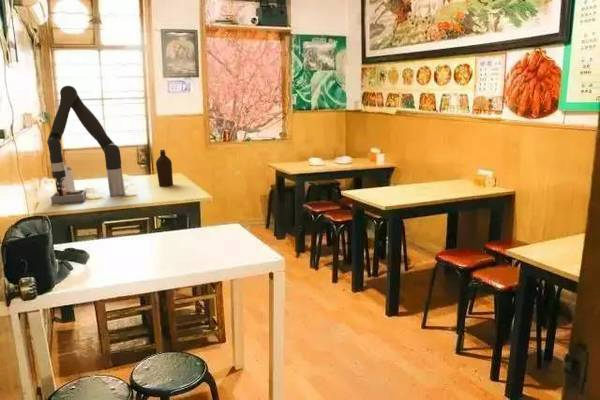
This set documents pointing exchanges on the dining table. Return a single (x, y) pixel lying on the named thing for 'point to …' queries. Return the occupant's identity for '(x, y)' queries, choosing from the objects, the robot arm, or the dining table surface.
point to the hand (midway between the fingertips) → (62, 196)
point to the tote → (68, 198)
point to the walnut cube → (75, 192)
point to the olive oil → (164, 170)
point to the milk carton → (69, 179)
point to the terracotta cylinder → (63, 192)
